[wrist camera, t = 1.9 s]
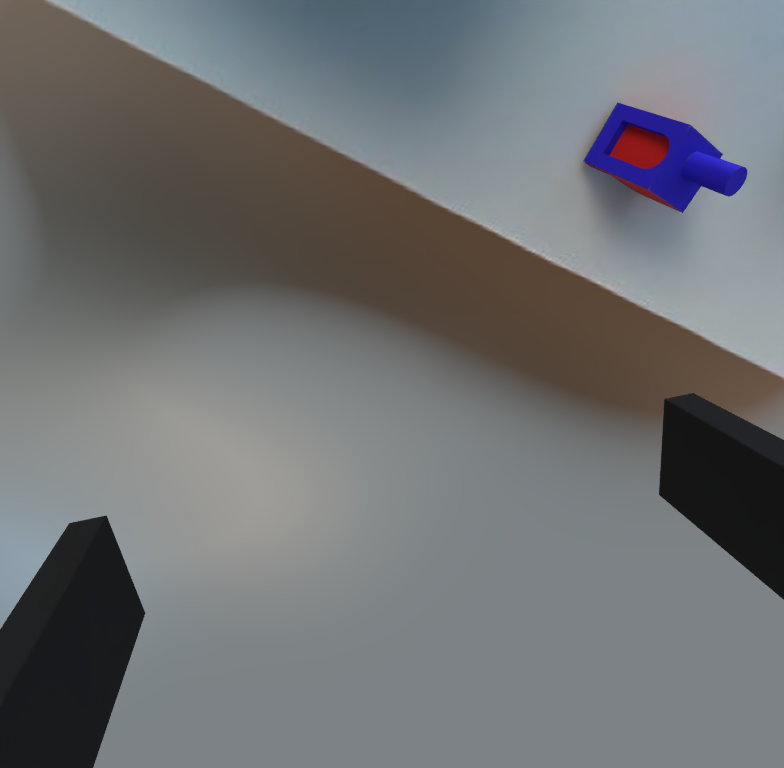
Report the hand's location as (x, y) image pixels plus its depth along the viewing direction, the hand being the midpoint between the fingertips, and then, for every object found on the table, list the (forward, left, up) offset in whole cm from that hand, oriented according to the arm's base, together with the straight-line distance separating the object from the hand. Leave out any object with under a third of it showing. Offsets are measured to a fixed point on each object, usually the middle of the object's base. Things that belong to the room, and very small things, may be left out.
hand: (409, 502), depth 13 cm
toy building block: (-12, +12, -26) cm, 31 cm away
